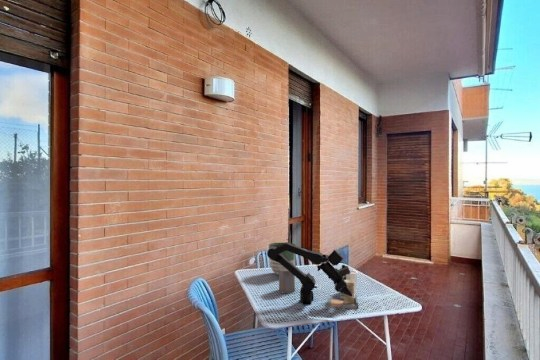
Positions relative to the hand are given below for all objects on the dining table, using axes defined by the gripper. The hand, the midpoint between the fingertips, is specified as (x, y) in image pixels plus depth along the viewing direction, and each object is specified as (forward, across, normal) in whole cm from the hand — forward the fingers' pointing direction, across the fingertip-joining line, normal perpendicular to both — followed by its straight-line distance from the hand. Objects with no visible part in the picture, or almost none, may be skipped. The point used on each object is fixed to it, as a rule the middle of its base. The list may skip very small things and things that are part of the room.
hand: (351, 292), depth 172 cm
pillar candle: (-22, +17, +32) cm, 42 cm away
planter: (-28, +52, +38) cm, 70 cm away
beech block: (+3, 0, +5) cm, 6 cm away
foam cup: (+5, +20, +5) cm, 21 cm away
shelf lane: (+1, 0, +8) cm, 8 cm away
